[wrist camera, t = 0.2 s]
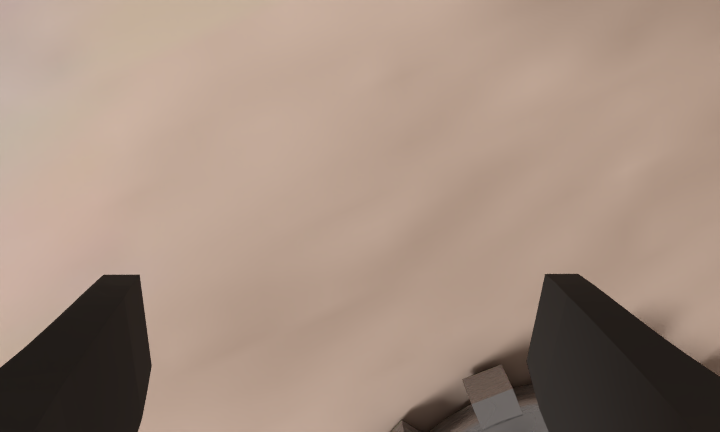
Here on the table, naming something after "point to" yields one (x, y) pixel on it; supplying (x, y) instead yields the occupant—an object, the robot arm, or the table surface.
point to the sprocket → (492, 407)
